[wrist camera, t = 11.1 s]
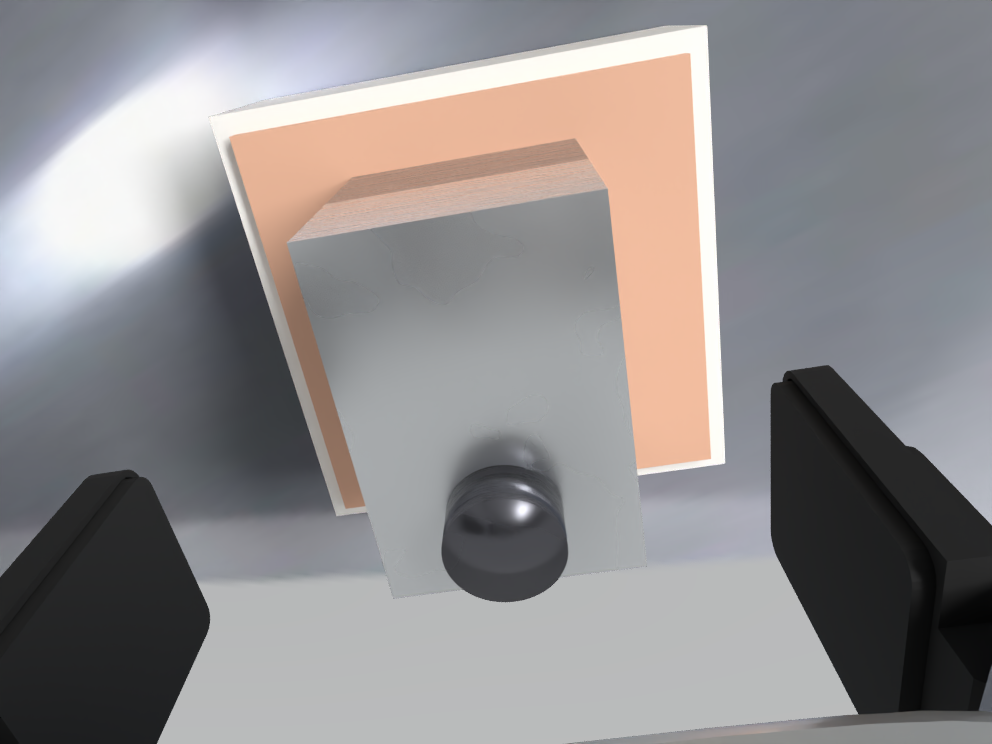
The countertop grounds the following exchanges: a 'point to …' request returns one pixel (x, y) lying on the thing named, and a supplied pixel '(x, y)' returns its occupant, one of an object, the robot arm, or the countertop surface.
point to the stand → (504, 126)
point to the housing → (479, 369)
